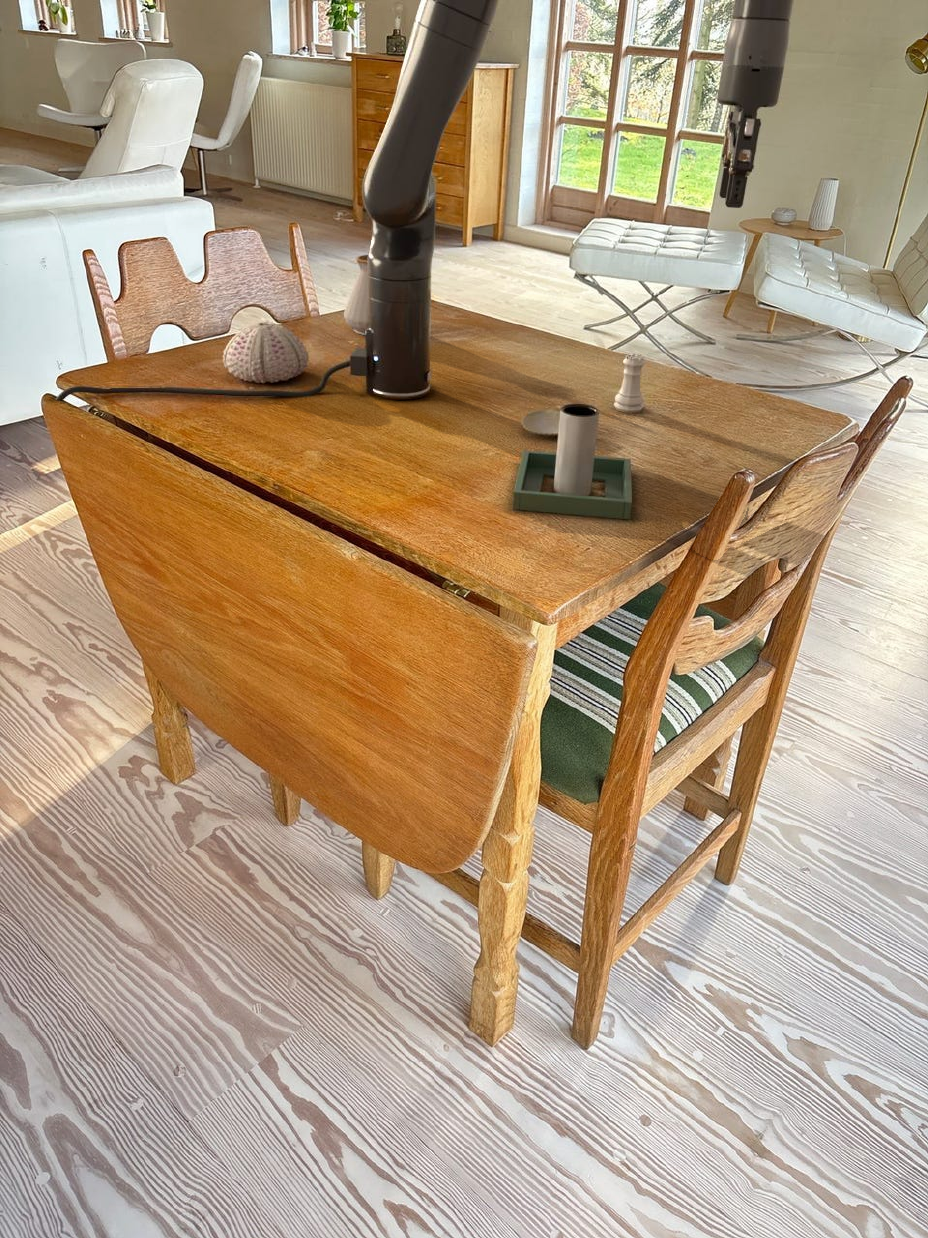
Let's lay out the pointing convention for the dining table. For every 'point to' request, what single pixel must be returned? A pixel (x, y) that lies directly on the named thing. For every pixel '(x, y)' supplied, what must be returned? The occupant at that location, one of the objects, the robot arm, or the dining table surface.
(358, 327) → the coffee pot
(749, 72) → the robot arm
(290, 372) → the sea urchin shell
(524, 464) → the green square frame
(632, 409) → the rook chess piece
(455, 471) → the dining table surface
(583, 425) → the white hollow cylinder
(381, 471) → the dining table surface
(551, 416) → the seashell
